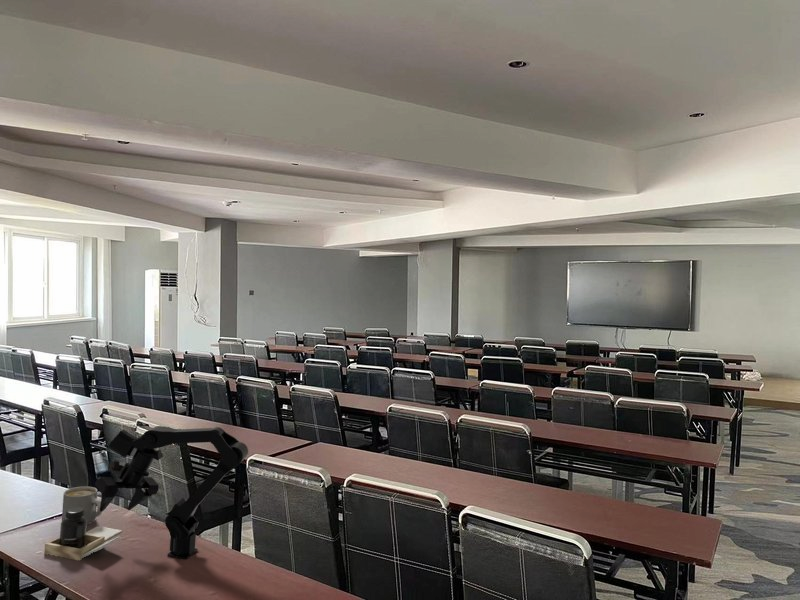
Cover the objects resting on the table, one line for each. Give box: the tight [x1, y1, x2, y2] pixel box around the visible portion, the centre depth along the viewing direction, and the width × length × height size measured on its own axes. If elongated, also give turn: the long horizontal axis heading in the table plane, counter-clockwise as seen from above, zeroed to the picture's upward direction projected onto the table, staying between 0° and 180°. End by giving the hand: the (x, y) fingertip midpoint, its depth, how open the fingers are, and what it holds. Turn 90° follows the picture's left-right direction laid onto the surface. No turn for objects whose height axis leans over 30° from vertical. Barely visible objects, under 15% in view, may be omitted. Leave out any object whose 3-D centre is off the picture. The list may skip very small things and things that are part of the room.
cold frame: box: [43, 533, 106, 561], centre depth 172 cm, size 12×10×3 cm
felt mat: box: [86, 525, 123, 542], centre depth 184 cm, size 9×9×1 cm
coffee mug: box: [61, 486, 102, 526], centre depth 192 cm, size 13×10×10 cm
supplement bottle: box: [59, 507, 88, 549], centre depth 172 cm, size 7×7×12 cm
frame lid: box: [81, 535, 123, 559], centre depth 170 cm, size 7×8×4 cm
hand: (115, 510), depth 175 cm, fingers open, 9 cm apart
